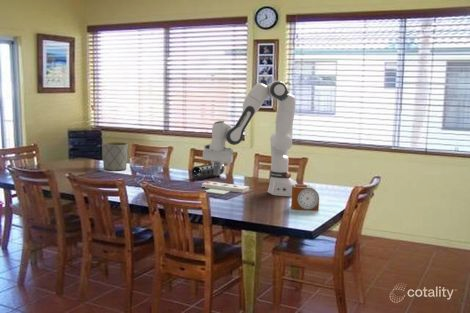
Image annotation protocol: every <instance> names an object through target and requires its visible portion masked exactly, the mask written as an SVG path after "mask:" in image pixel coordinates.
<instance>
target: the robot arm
mask: <svg viewBox="0 0 470 313" xmlns="http://www.w3.org/2000/svg"><path fill="white" fill-rule="evenodd" d="M267 98H271V99H276V100H277V110H276V115H275V116H276V117H275V132H273V133H272V134H271V136H270V138H269V142H270V156H271V157H270V158H271V164H270V170H269V171H270V173H269V186H268V190H267V193H268V194H270V195H272V196H280V197H291V198H292V185H295V184H298V183H297V182H296V181H295V180H294V179H293V178H292V176H291V175H292V172H290V171H289V162H290V161H289V160H290V159H289V152H288V151H289V150H290V149H291V148H292V146H293V125H294V119H295V112H296V97H295V95H293V94H291V93H289V90H288V87H287V85H286V83H285V82H284V81H280V80H273V81H270V82H269V83H266V84H265V83H262V82H258V83H256V84H255V85H254V86H253V87H252V89H250V91H249V92H248V93H247V95H246V96H245V98H244V101H243V103H242V113H241V115H240V117H239V119H238V120H237V122H236V123H235V125H234V126H233V125H230V124H229V123H228V122H226V121H224V120H222V121H221V120H219V121H215V122H214V123H213V124H212V127H211V141H210V142H211V143H209V144H205V145H203V150H202V160H203V161H210V164H212V165H213V166H212V168H214V162H220V164H221V165H220V166H219V169H222V166H223V165H224V164H225V163H227V164H231V163H233V160H234V156H233V154H234V150H233V149H232V148H231V147H226V142H228V144H230V145H232V146H235V145H236V146H237V145H238V144H240V143H241V142H242V141H243V138H244V132H245V130H246V128H247V126H248V125H249V123H250V122H251V120H252V118H253V117H254V116H255V114H256V113H257V112H258V111H259V109H261V107H262V105H263V104H264V102H265V101H266V100H267Z"/></svg>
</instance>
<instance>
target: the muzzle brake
mask: <svg viewBox="0 0 470 313" xmlns="http://www.w3.org/2000/svg"><path fill="white" fill-rule="evenodd" d="M212 166H213V165H212V163H209V164H202V165H201V164H200V165H197V166H195V165H194V167H192V169H191V176H192V177H193V179H195V180H197V181H199V180H203V179H208V178H210V177H211V178H214V177H215V178H216V177H217V175H213V170H214V168H212ZM225 169H226V168H225V165H224V164H223V166H222V169H221V171H220V175H219V176H221V175H223V174H224V172H225Z"/></svg>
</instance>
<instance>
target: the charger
mask: <svg viewBox="0 0 470 313" xmlns="http://www.w3.org/2000/svg"><path fill="white" fill-rule="evenodd" d="M220 165H221V164H220V162H217V161H214V170H213V175H216V176H221V175H220V171H221V169H219V166H220Z"/></svg>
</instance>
